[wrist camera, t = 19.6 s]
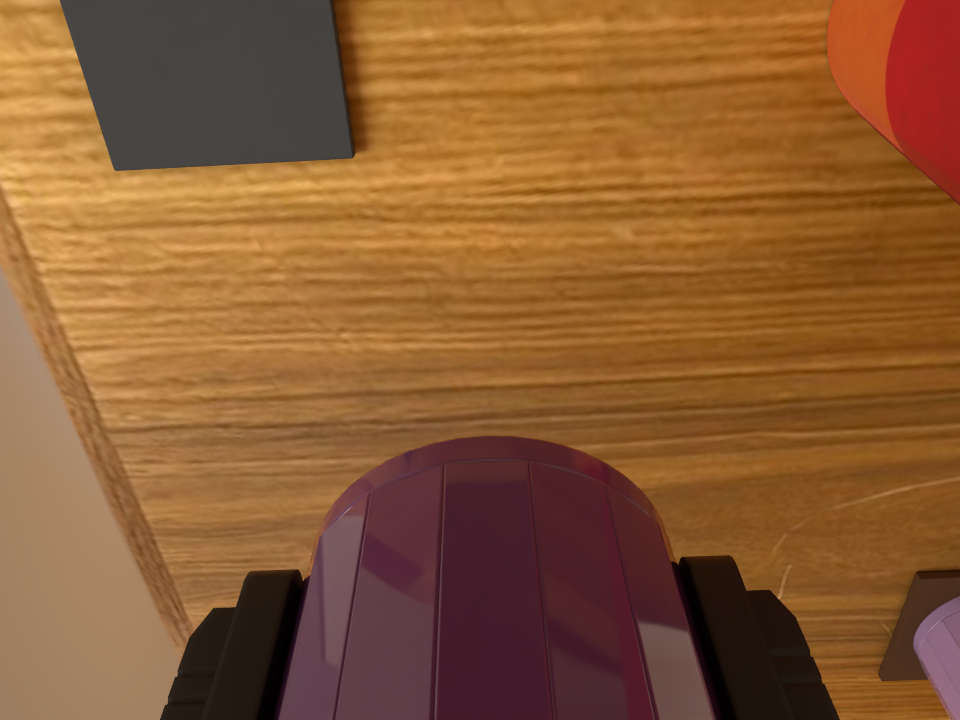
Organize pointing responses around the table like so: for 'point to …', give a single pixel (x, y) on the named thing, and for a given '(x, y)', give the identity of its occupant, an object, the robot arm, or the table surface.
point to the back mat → (917, 623)
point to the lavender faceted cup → (942, 653)
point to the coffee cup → (903, 77)
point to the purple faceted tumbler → (494, 595)
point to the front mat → (213, 80)
